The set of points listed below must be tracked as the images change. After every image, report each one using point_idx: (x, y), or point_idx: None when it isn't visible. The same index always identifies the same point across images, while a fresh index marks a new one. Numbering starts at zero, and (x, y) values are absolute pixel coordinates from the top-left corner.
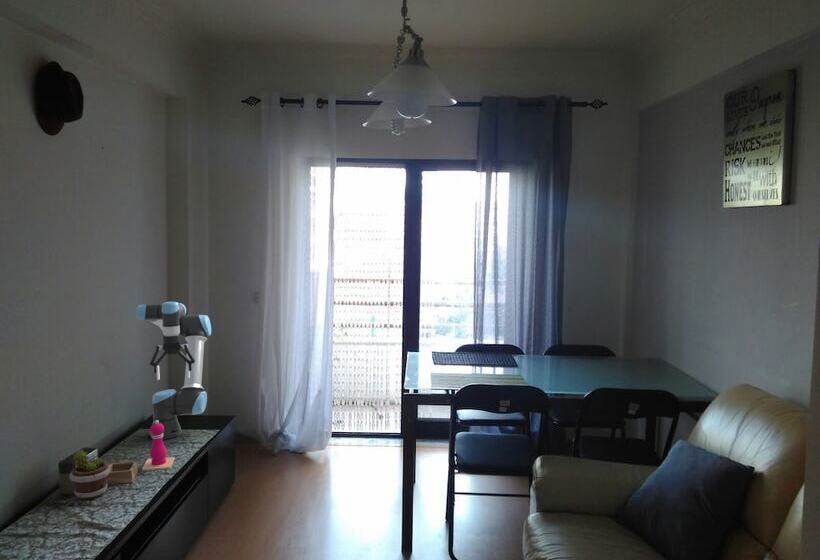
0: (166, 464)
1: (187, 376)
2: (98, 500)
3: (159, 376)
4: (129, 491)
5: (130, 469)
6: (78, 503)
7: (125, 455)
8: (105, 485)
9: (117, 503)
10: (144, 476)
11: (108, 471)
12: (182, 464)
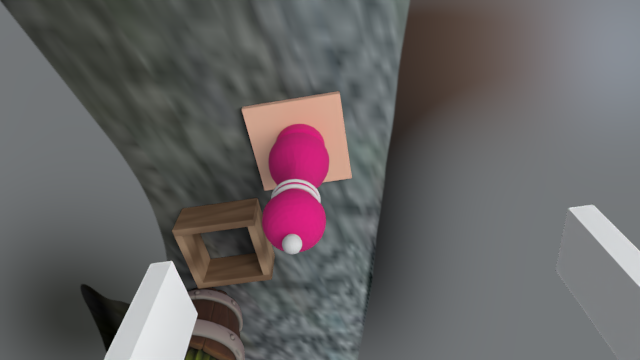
0: (332, 160)
1: (574, 291)
2: (244, 328)
3: (165, 299)
4: (293, 297)
5: (263, 271)
6: None
7: (115, 38)
8: (237, 319)
9: (294, 339)
10: None
11: (243, 356)
12: (383, 146)
